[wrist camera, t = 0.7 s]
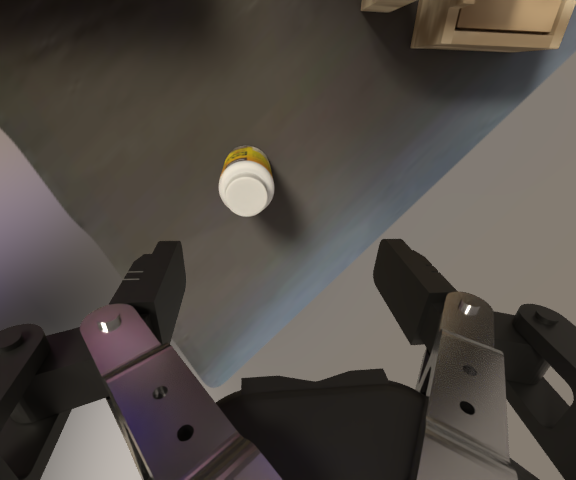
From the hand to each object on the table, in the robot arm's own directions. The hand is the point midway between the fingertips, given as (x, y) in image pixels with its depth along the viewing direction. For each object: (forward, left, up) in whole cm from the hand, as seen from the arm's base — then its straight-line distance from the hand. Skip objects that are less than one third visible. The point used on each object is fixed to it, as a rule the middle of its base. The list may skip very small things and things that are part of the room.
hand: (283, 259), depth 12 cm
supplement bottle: (+4, -2, -27) cm, 27 cm away
